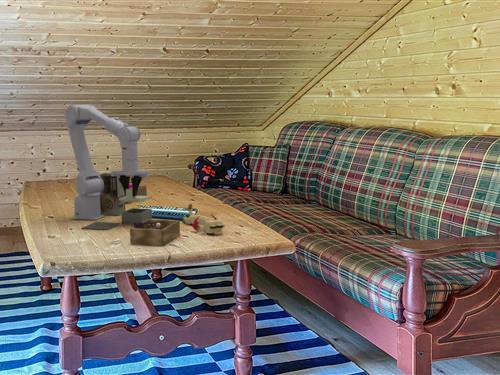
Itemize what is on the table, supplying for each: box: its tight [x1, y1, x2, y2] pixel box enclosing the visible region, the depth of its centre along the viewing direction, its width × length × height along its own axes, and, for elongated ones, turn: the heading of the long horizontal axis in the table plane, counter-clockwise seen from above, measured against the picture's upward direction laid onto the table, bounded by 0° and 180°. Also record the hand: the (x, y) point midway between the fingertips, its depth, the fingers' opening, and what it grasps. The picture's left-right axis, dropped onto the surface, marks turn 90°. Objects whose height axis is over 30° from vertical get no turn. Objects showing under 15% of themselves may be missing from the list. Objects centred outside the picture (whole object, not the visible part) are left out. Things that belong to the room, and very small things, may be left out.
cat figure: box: [181, 203, 226, 235], centre depth 220 cm, size 10×9×25 cm
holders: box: [125, 185, 181, 247], centre depth 244 cm, size 21×104×5 cm, turn 17°
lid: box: [119, 188, 152, 203], centre depth 232 cm, size 9×11×5 cm
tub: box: [120, 207, 153, 225], centre depth 234 cm, size 8×10×4 cm
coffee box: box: [99, 172, 126, 216], centre depth 248 cm, size 9×6×16 cm
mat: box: [81, 221, 122, 231], centre depth 225 cm, size 10×11×1 cm
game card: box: [132, 222, 161, 230], centre depth 202 cm, size 7×5×9 cm
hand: (131, 196), depth 228 cm, fingers closed on lid, 2 cm apart
